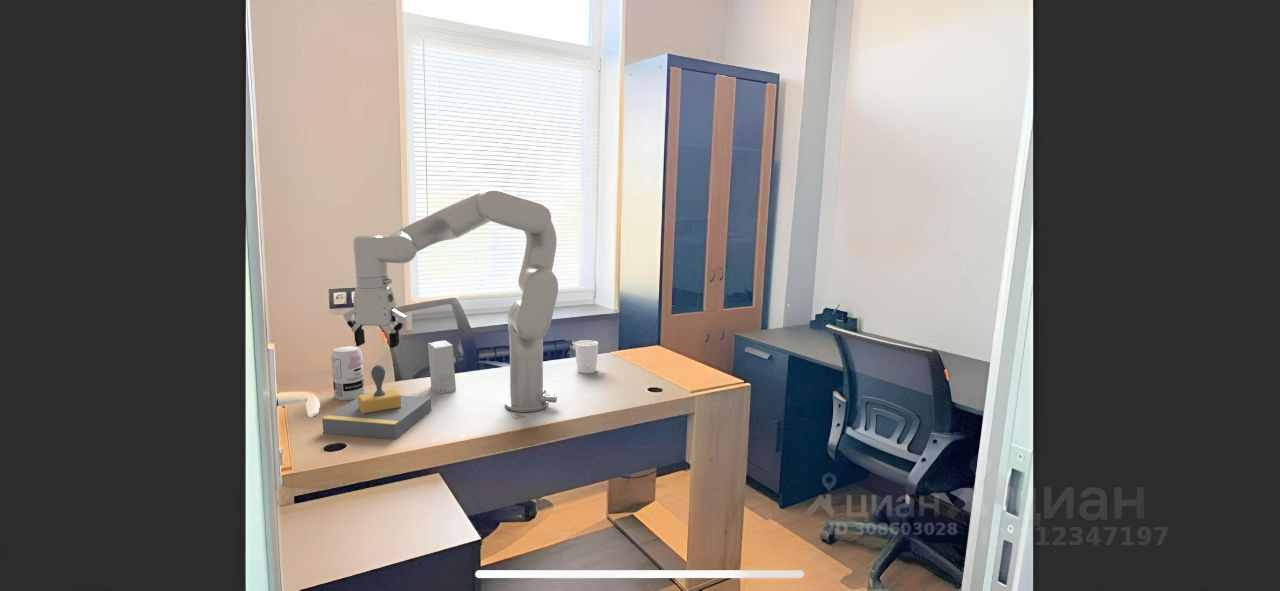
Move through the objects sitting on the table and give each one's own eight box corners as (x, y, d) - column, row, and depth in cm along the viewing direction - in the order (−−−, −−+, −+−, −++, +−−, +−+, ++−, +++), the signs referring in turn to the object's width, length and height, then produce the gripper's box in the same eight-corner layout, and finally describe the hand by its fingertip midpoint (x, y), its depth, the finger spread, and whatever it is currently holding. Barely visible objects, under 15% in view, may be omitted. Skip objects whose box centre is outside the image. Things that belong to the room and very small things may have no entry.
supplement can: (340, 392, 195) (337, 344, 192) (368, 391, 195) (365, 345, 192) (330, 401, 187) (326, 352, 184) (359, 401, 187) (355, 352, 184)
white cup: (596, 374, 218) (597, 346, 216) (574, 373, 218) (574, 345, 216) (598, 367, 225) (599, 340, 223) (576, 366, 225) (576, 339, 223)
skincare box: (456, 391, 198) (454, 345, 195) (436, 394, 194) (434, 348, 192) (448, 383, 205) (446, 339, 202) (429, 386, 201) (427, 341, 198)
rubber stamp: (396, 401, 177) (394, 360, 175) (401, 407, 172) (399, 365, 170) (358, 407, 172) (355, 365, 169) (362, 414, 167) (359, 371, 165)
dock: (431, 411, 181) (431, 397, 180) (395, 439, 162) (394, 424, 161) (366, 405, 184) (365, 392, 183) (323, 433, 164) (322, 418, 164)
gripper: (410, 281, 168) (414, 343, 171) (350, 279, 170) (355, 340, 174) (396, 286, 161) (400, 351, 164) (333, 284, 163) (338, 348, 166)
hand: (377, 345), depth 169 cm, fingers open, 9 cm apart
